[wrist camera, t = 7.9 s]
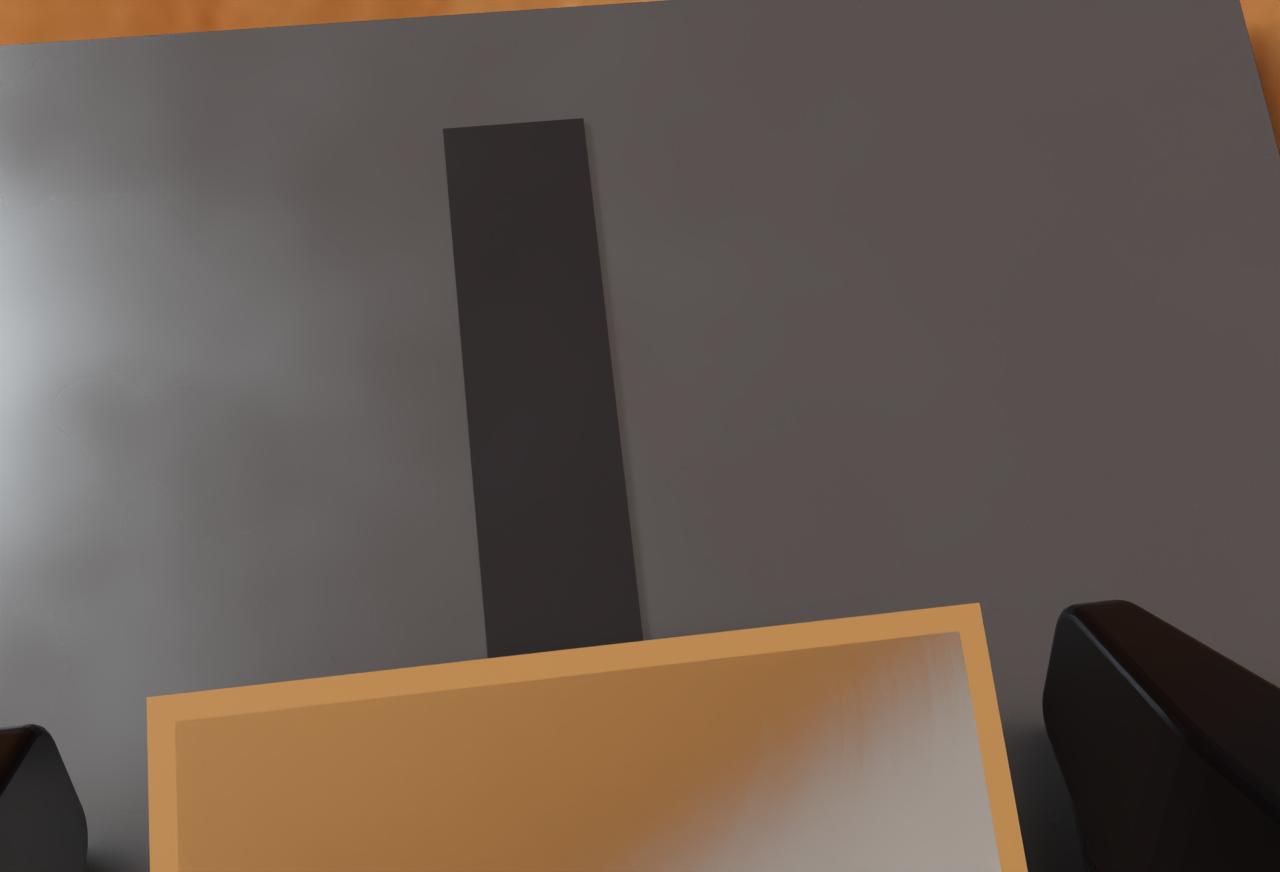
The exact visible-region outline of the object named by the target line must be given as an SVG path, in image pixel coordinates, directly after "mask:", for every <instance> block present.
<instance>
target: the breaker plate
mask: <svg viewBox="0 0 1280 872" xmlns="http://www.w3.org/2000/svg"><path fill="white" fill-rule="evenodd" d="M1107 600H1126V601H1129V602H1132V603H1134V604H1136V605H1138V606H1140V607H1141V608H1143V609H1145V610H1147V611H1148V612H1150V613H1152V614H1153V615H1155V616H1157V617H1159V618H1160V619H1162V620H1164V621H1165V622H1167V623H1169V624H1171V625H1172V626H1174V627H1176V628H1178V629H1179V630H1181V631H1183V632H1184V633H1186V634H1188V635H1190V636H1191V637H1193V638H1195V639H1196V640H1198V641H1200V642H1202V643H1203V644H1205V645H1207V646H1208V647H1210V648H1212V649H1214V650H1215V651H1217V652H1219V653H1220V654H1222V655H1224V656H1226V657H1227V658H1229V659H1231V660H1232V661H1234V662H1236V663H1238V664H1239V665H1241V666H1243V667H1244V668H1246V669H1248V670H1250V671H1251V672H1253V673H1255V674H1256V675H1258V676H1260V677H1262V678H1263V679H1265V680H1267V681H1269V682H1270V683H1272V684H1274V685H1275V686H1277V687H1279V688H1280V155H1279V151H1278V147H1277V143H1276V139H1275V135H1274V132H1273V128H1272V124H1271V120H1270V116H1269V112H1268V108H1267V105H1266V101H1265V97H1264V93H1263V89H1262V85H1261V81H1260V78H1259V74H1258V70H1257V66H1256V62H1255V58H1254V55H1253V51H1252V47H1251V43H1250V39H1249V35H1248V31H1247V28H1246V24H1245V20H1244V16H1243V12H1242V8H1241V4H1240V1H1239V0H667V1H652V2H637V3H623V4H608V5H593V6H578V7H563V8H549V9H534V10H519V11H504V12H489V13H475V14H460V15H445V16H430V17H415V18H401V19H386V20H371V21H356V22H341V23H327V24H312V25H297V26H282V27H267V28H252V29H238V30H223V31H208V32H193V33H178V34H164V35H149V36H134V37H119V38H104V39H90V40H75V41H60V42H45V43H30V44H16V45H1V46H0V727H6V726H14V725H23V724H35V725H40V726H42V727H44V728H45V729H46V730H47V731H48V732H49V733H50V734H51V736H52V738H53V739H54V741H55V743H56V746H57V748H58V750H59V753H60V755H61V757H62V760H63V762H64V765H65V767H66V769H67V772H68V774H69V776H70V779H71V781H72V784H73V786H74V788H75V791H76V793H77V795H78V798H79V800H80V803H81V805H82V807H83V810H84V813H85V817H86V822H87V830H88V849H87V857H86V863H85V869H84V872H150V847H149V797H148V748H147V698H146V697H154V696H163V695H171V694H180V693H189V692H198V691H207V690H215V689H224V688H233V687H242V686H251V685H259V684H268V683H277V682H286V681H294V680H303V679H311V678H320V677H329V676H338V675H346V674H355V673H364V672H373V671H382V670H390V669H399V668H408V667H417V666H426V665H434V664H443V663H452V662H461V661H470V660H478V659H487V658H496V657H505V656H514V655H522V654H531V653H540V652H549V651H558V650H566V649H575V648H584V647H593V646H602V645H610V644H619V643H628V642H637V641H646V640H654V639H663V638H672V637H681V636H690V635H698V634H707V633H716V632H725V631H733V630H742V629H751V628H760V627H769V626H777V625H786V624H795V623H804V622H813V621H822V620H831V619H840V618H849V617H857V616H866V615H875V614H884V613H893V612H901V611H910V610H919V609H928V608H937V607H945V606H954V605H963V604H972V603H980V608H981V614H982V620H983V625H984V631H985V636H986V642H987V647H988V653H989V658H990V664H991V670H992V675H993V681H994V686H995V692H996V697H997V703H998V708H999V714H1000V720H1001V725H1002V731H1003V736H1004V742H1005V747H1006V753H1007V759H1008V764H1009V770H1010V775H1011V781H1012V786H1013V792H1014V797H1015V803H1016V809H1017V814H1018V820H1019V825H1020V831H1021V836H1022V842H1023V847H1024V853H1025V859H1026V864H1027V870H1028V872H1098V871H1097V868H1096V865H1095V863H1094V860H1093V857H1092V854H1091V852H1090V849H1089V846H1088V844H1087V841H1086V838H1085V835H1084V833H1083V830H1082V827H1081V824H1080V822H1079V819H1078V816H1077V814H1076V811H1075V808H1074V805H1073V803H1072V800H1071V797H1070V794H1069V792H1068V789H1067V786H1066V784H1065V781H1064V778H1063V775H1062V773H1061V770H1060V767H1059V764H1058V762H1057V759H1056V756H1055V754H1054V751H1053V748H1052V745H1051V743H1050V740H1049V737H1048V734H1047V731H1046V728H1045V723H1044V719H1043V710H1042V697H1043V690H1044V685H1045V680H1046V674H1047V669H1048V664H1049V659H1050V653H1051V648H1052V643H1053V638H1054V633H1055V627H1056V623H1057V620H1058V617H1059V616H1060V614H1061V612H1062V611H1063V610H1064V609H1065V608H1067V607H1069V606H1071V605H1074V604H1081V603H1089V602H1098V601H1107Z"/></svg>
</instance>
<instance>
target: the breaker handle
mask: <svg viewBox="0 0 1280 872" xmlns="http://www.w3.org/2000/svg"><path fill="white" fill-rule="evenodd" d="M146 698H147V748H148V797H149V847H150V872H1028V870H1027V864H1026V859H1025V853H1024V847H1023V842H1022V836H1021V831H1020V825H1019V820H1018V814H1017V809H1016V803H1015V797H1014V792H1013V786H1012V781H1011V775H1010V770H1009V764H1008V759H1007V753H1006V747H1005V742H1004V736H1003V731H1002V725H1001V720H1000V714H999V708H998V703H997V697H996V692H995V686H994V681H993V675H992V670H991V664H990V658H989V653H988V647H987V642H986V636H985V631H984V625H983V620H982V614H981V608H980V603H972V604H963V605H954V606H945V607H937V608H928V609H919V610H910V611H901V612H893V613H884V614H875V615H866V616H857V617H849V618H840V619H831V620H822V621H813V622H804V623H795V624H786V625H777V626H769V627H760V628H751V629H742V630H733V631H725V632H716V633H707V634H698V635H690V636H681V637H672V638H663V639H654V640H646V641H637V642H628V643H619V644H610V645H602V646H593V647H584V648H575V649H566V650H558V651H549V652H540V653H531V654H522V655H514V656H505V657H496V658H487V659H478V660H470V661H461V662H452V663H443V664H434V665H426V666H417V667H408V668H399V669H390V670H382V671H373V672H364V673H355V674H346V675H338V676H329V677H320V678H311V679H303V680H294V681H286V682H277V683H268V684H259V685H251V686H242V687H233V688H224V689H215V690H207V691H198V692H189V693H180V694H171V695H163V696H154V697H146Z"/></svg>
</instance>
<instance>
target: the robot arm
mask: <svg viewBox="0 0 1280 872" xmlns="http://www.w3.org/2000/svg"><path fill="white" fill-rule="evenodd" d="M1042 710H1043V719H1044V723H1045V728H1046V731H1047V734H1048V737H1049V740H1050V743H1051V745H1052V748H1053V751H1054V754H1055V756H1056V759H1057V762H1058V764H1059V767H1060V770H1061V773H1062V775H1063V778H1064V781H1065V784H1066V786H1067V789H1068V792H1069V794H1070V797H1071V800H1072V803H1073V805H1074V808H1075V811H1076V814H1077V816H1078V819H1079V822H1080V824H1081V827H1082V830H1083V833H1084V835H1085V838H1086V841H1087V844H1088V846H1089V849H1090V852H1091V854H1092V857H1093V860H1094V863H1095V865H1096V868H1097V871H1098V872H1280V688H1279V687H1277V686H1275V685H1274V684H1272V683H1270V682H1269V681H1267V680H1265V679H1263V678H1262V677H1260V676H1258V675H1256V674H1255V673H1253V672H1251V671H1250V670H1248V669H1246V668H1244V667H1243V666H1241V665H1239V664H1238V663H1236V662H1234V661H1232V660H1231V659H1229V658H1227V657H1226V656H1224V655H1222V654H1220V653H1219V652H1217V651H1215V650H1214V649H1212V648H1210V647H1208V646H1207V645H1205V644H1203V643H1202V642H1200V641H1198V640H1196V639H1195V638H1193V637H1191V636H1190V635H1188V634H1186V633H1184V632H1183V631H1181V630H1179V629H1178V628H1176V627H1174V626H1172V625H1171V624H1169V623H1167V622H1165V621H1164V620H1162V619H1160V618H1159V617H1157V616H1155V615H1153V614H1152V613H1150V612H1148V611H1147V610H1145V609H1143V608H1141V607H1140V606H1138V605H1136V604H1134V603H1132V602H1129V601H1126V600H1107V601H1098V602H1089V603H1081V604H1074V605H1071V606H1069V607H1067V608H1065V609H1064V610H1063V611H1062V612H1061V614H1060V616H1059V617H1058V620H1057V623H1056V627H1055V633H1054V638H1053V643H1052V648H1051V653H1050V659H1049V664H1048V669H1047V674H1046V680H1045V685H1044V690H1043V697H1042ZM87 849H88V830H87V822H86V817H85V813H84V810H83V807H82V805H81V803H80V800H79V798H78V795H77V793H76V791H75V788H74V786H73V784H72V781H71V779H70V776H69V774H68V772H67V769H66V767H65V765H64V762H63V760H62V757H61V755H60V753H59V750H58V748H57V746H56V743H55V741H54V739H53V738H52V736H51V734H50V733H49V732H48V731H47V730H46V729H45V728H44V727H42V726H40V725H35V724H23V725H14V726H6V727H0V872H84V869H85V863H86V857H87Z"/></svg>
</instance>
